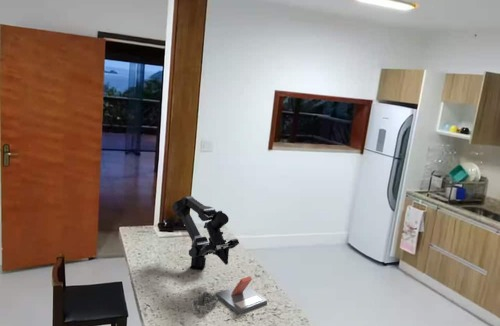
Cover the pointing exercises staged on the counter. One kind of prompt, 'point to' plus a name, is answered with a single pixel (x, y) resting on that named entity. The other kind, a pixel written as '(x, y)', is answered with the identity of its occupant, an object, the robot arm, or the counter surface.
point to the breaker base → (241, 299)
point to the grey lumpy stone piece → (207, 300)
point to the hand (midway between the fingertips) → (226, 264)
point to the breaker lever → (241, 285)
